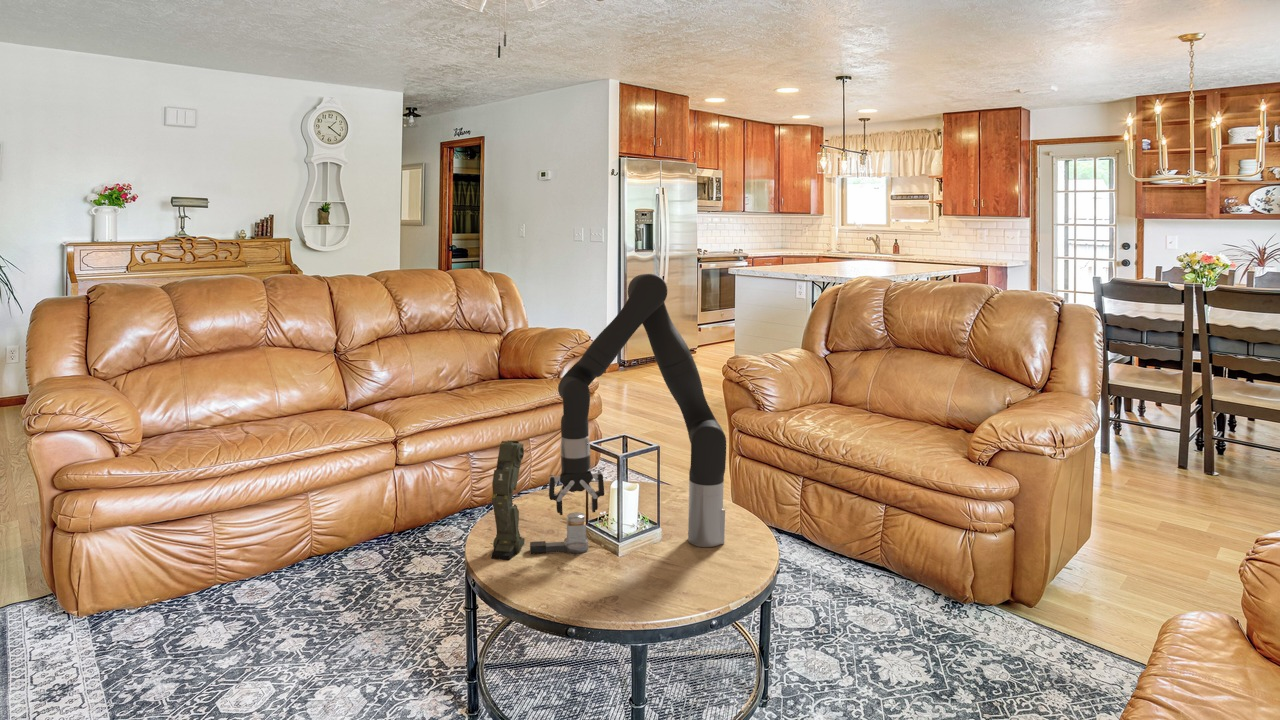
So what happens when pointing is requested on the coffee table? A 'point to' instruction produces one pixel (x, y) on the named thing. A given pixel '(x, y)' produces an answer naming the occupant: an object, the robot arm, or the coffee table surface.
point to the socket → (576, 528)
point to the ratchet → (558, 547)
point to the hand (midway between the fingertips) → (577, 512)
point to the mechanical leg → (506, 501)
